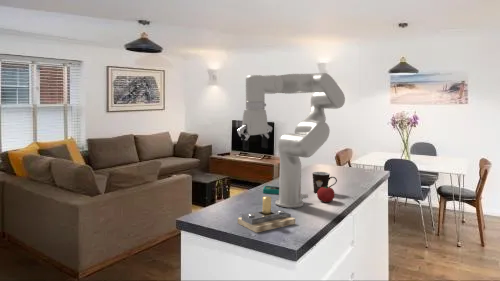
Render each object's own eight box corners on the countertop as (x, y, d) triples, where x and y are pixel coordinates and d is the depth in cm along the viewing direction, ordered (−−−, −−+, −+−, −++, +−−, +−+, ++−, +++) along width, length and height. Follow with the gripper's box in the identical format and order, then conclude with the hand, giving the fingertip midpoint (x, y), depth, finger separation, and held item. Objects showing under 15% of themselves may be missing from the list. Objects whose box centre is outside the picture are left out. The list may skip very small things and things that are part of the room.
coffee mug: (308, 192, 190) (308, 173, 189) (318, 189, 196) (319, 171, 195) (327, 196, 181) (327, 176, 180) (337, 194, 187) (338, 174, 186)
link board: (275, 215, 150) (275, 210, 150) (295, 223, 140) (295, 218, 140) (237, 223, 140) (237, 218, 139) (256, 232, 130) (256, 227, 130)
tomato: (314, 199, 176) (314, 184, 175) (329, 198, 178) (329, 183, 178) (323, 204, 168) (323, 188, 167) (338, 202, 171) (339, 187, 170)
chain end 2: (279, 212, 147) (279, 208, 147) (290, 216, 142) (290, 212, 142) (253, 217, 140) (253, 213, 140) (263, 222, 135) (263, 218, 135)
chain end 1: (269, 214, 144) (269, 207, 144) (280, 219, 139) (280, 212, 139) (241, 219, 137) (241, 213, 137) (251, 224, 132) (252, 217, 132)
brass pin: (267, 221, 142) (267, 195, 141) (272, 223, 139) (273, 197, 138) (260, 223, 140) (261, 197, 139) (265, 225, 138) (266, 198, 137)
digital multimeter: (292, 195, 184) (292, 189, 184) (262, 194, 187) (262, 188, 186) (292, 192, 192) (293, 186, 191) (264, 190, 194) (264, 185, 193)
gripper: (265, 105, 157) (265, 146, 159) (232, 106, 147) (232, 149, 149) (277, 106, 151) (277, 148, 154) (243, 107, 141) (243, 152, 143)
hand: (255, 148), depth 151 cm, fingers open, 9 cm apart
